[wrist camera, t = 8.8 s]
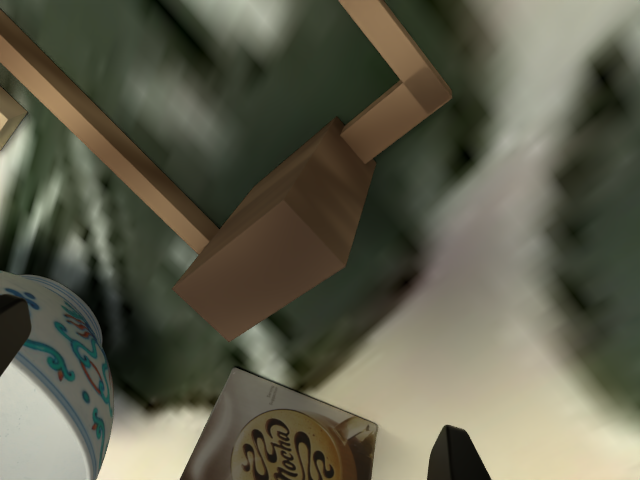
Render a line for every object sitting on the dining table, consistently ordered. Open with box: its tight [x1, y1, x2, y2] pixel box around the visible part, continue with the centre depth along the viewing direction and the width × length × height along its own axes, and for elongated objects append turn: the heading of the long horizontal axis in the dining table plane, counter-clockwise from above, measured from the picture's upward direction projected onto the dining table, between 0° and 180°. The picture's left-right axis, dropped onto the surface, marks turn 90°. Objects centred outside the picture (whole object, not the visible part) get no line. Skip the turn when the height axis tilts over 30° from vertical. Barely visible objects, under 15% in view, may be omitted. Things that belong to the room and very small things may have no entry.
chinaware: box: [0, 271, 114, 480], centre depth 26 cm, size 15×15×8 cm
